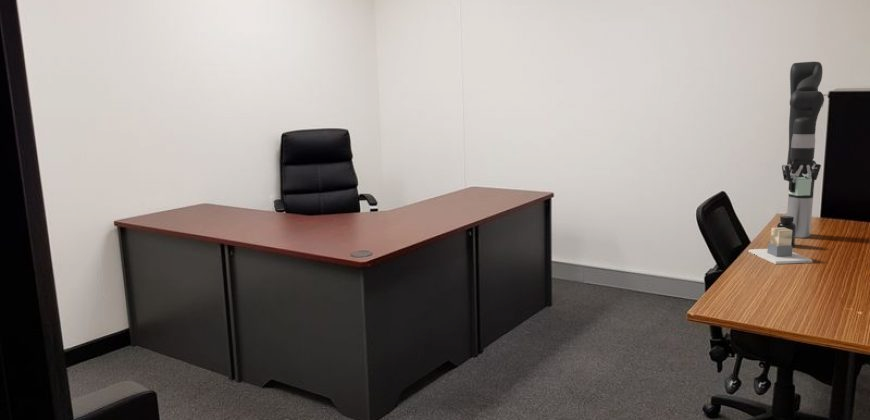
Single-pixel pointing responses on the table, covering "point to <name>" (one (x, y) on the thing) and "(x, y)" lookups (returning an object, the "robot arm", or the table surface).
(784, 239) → the birch block
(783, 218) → the supplement bottle
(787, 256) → the build plate
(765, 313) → the table surface
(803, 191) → the sage block
